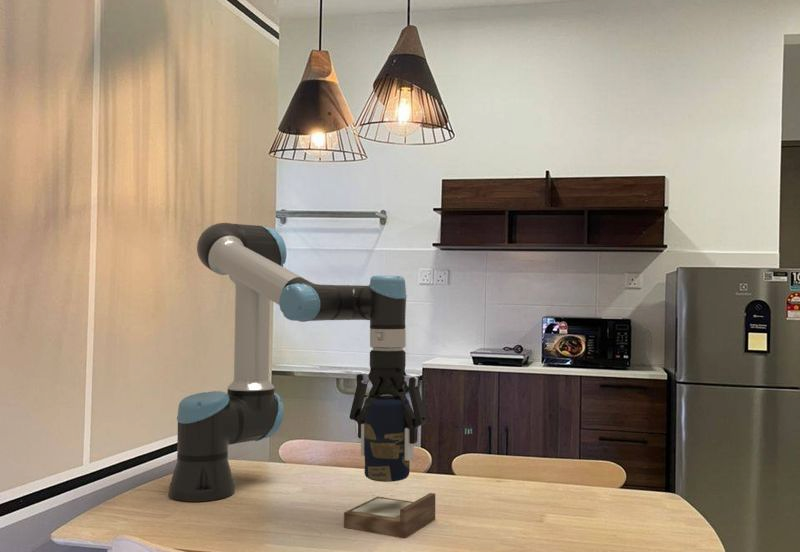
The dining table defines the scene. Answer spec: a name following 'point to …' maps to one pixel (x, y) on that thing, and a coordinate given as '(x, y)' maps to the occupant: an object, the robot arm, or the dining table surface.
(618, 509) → the dining table surface
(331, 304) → the robot arm
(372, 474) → the canister
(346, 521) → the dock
